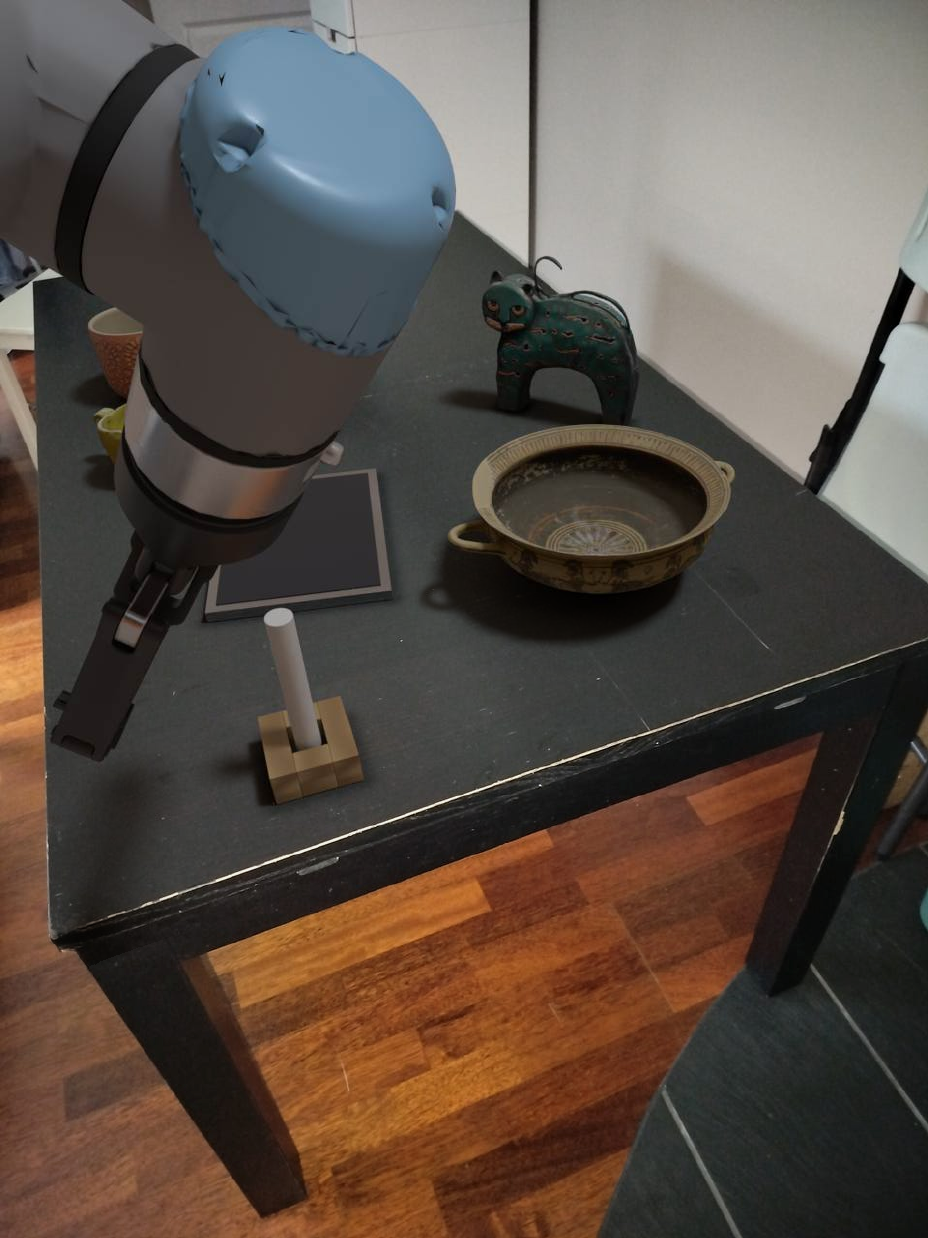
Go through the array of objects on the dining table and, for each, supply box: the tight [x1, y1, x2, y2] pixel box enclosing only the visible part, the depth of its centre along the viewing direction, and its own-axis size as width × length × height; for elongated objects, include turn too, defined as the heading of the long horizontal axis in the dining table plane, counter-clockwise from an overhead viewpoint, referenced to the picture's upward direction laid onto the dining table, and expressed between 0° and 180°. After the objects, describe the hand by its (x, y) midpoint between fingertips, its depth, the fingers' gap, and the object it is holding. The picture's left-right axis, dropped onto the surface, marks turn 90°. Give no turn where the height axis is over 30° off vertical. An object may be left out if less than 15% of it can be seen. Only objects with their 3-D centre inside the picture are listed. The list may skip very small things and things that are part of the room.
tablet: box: [204, 467, 394, 623], centre depth 92 cm, size 18×24×1 cm
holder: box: [257, 695, 364, 805], centre depth 68 cm, size 7×7×3 cm
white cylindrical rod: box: [263, 608, 321, 752], centre depth 64 cm, size 2×2×15 cm
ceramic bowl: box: [447, 423, 736, 595], centre depth 84 cm, size 30×24×10 cm
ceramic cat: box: [481, 255, 640, 426], centre depth 107 cm, size 20×6×20 cm, turn 62°
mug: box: [92, 403, 127, 467], centre depth 104 cm, size 12×10×10 cm
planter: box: [87, 306, 143, 400], centre depth 120 cm, size 12×12×11 cm
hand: (148, 635), depth 52 cm, fingers open, 13 cm apart
